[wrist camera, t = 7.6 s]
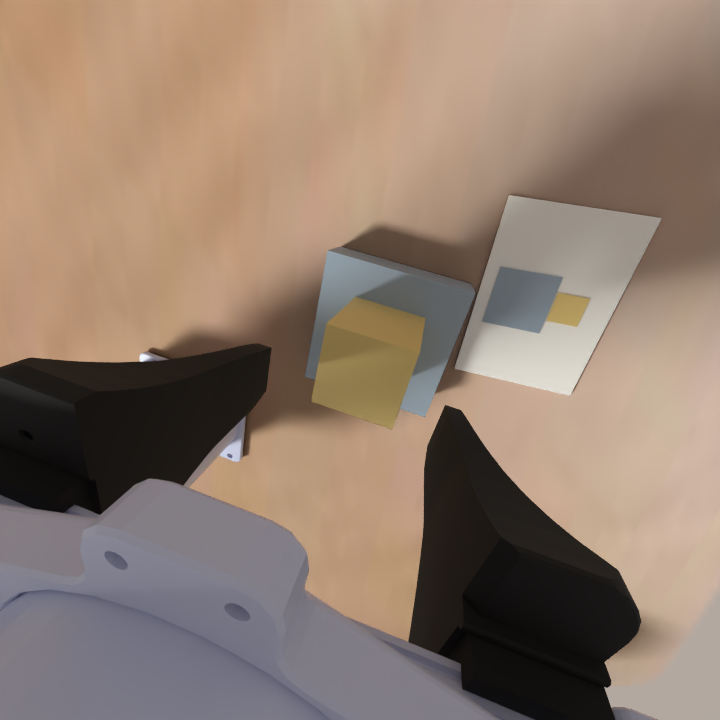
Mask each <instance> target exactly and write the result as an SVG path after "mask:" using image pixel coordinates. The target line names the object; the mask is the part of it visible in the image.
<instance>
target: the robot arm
mask: <svg viewBox="0 0 720 720" xmlns="http://www.w3.org/2000/svg"><path fill="white" fill-rule="evenodd" d="M270 355H271V348H270V347H267V346H264V345H261V344H258V343H257V344H250V345H244V346H239V347H235V348H230V349H226V350H221V351H217V352H212V353H207V354H201V355H196V356H191V357H185V358H178V359H167V358H164V357H161V356H158V355H155V354H152V353H149V352H143V353H141V354H140V362H120V363H111V362H77V361H64V360H52V359H40V358H27V359H23V360H20V361H18V362H15V363H12V364H9V365H6V366H3V367H0V720H657V719H655V718H652V717H649V716H647V715H645V714H642V713H640V712H637V711H635V710H632V709H628V708H624V707H613V708H611V706H610V703H609V700H608V697H607V694H606V692H605V689H604V687H606V688H608V687H609V686H610V685H611V679H610V676H609V673H608V671H607V668H606V665H605V663H604V662H605V661H606V660H607V659H609V658H610V657H611V656H613V655H614V654H615V653H616V652H618V651H619V650H620V649H622V648H623V647H624V646H625V645H627V644H628V643H629V642H630V641H631V640H632V639H633V638H634V636H635V635H636V634H637V633H638V630H639V627H640V623H641V619H640V614H639V610H638V608H637V606H636V604H635V602H634V600H633V598H632V596H631V594H630V592H629V590H628V588H627V586H626V585H625V583H624V581H623V579H622V577H621V575H620V573H619V571H618V570H617V569H616V568H615V567H613V566H612V565H610V564H609V563H608V562H606V561H605V560H604V559H602V558H601V557H599V556H598V555H597V554H595V553H594V552H593V551H591V550H590V549H588V548H587V547H586V546H584V545H583V544H582V543H580V542H579V541H578V540H576V539H575V538H574V537H573V536H571V535H570V534H569V533H568V532H567V531H565V530H564V529H563V528H562V527H560V526H559V525H558V524H557V523H556V522H554V521H553V520H552V519H551V518H550V517H549V516H548V515H546V514H545V513H544V512H543V511H542V510H541V509H540V508H539V507H538V506H537V505H536V504H535V503H534V502H532V501H531V500H530V499H529V498H528V497H527V496H526V495H525V494H524V493H523V492H522V491H521V490H520V489H519V488H518V486H517V485H516V484H515V483H514V482H513V481H512V480H511V479H510V478H509V477H508V475H507V474H506V473H505V472H504V471H503V470H502V468H501V467H500V466H499V465H498V463H497V462H496V461H495V459H494V458H493V457H492V456H491V454H490V453H489V451H488V450H487V449H486V447H485V446H484V444H483V443H482V441H481V440H480V439H479V437H478V435H477V434H476V432H475V431H474V429H473V428H472V426H471V425H470V423H469V421H468V420H467V418H466V417H465V415H464V414H463V412H462V411H461V410H459V409H456V408H453V407H450V406H446V405H445V407H444V409H443V411H442V414H441V416H440V418H439V421H438V423H437V425H436V428H435V430H434V432H433V434H432V437H431V439H430V441H429V444H428V447H427V453H426V460H425V467H424V528H423V540H422V548H421V557H420V565H419V573H418V581H417V588H416V595H415V602H414V609H413V616H412V623H411V629H410V635H409V641H408V642H407V641H404V640H402V639H400V638H397V637H395V636H392V635H390V634H387V633H385V632H383V631H380V630H378V629H375V628H373V627H370V626H368V625H366V624H363V623H361V622H358V621H356V620H353V619H351V618H349V617H346V616H344V615H343V614H341V613H340V612H338V611H337V610H335V609H334V608H332V607H331V606H329V605H328V604H326V603H324V602H323V601H321V600H320V599H318V598H317V597H315V596H314V595H312V594H311V593H309V592H308V591H306V590H305V583H306V579H307V576H308V572H309V565H308V557H307V552H306V550H305V548H304V547H303V546H302V545H301V543H300V542H299V541H298V540H297V538H296V537H295V536H294V535H293V533H292V532H291V531H289V530H287V529H285V528H284V527H282V526H280V525H279V524H277V523H275V522H274V521H272V520H270V519H267V518H265V517H262V516H259V515H257V514H254V513H252V512H249V511H247V510H244V509H241V508H239V507H236V506H234V505H231V504H229V503H226V502H223V501H221V500H218V499H216V498H213V497H211V496H208V495H206V494H203V493H200V492H198V491H195V490H193V489H190V488H189V487H190V486H191V485H192V484H193V483H194V482H195V481H196V480H197V478H198V477H199V476H200V475H201V474H202V473H203V472H204V471H205V470H206V469H207V468H208V467H209V466H210V465H211V463H212V462H213V461H214V460H215V459H216V458H217V457H218V456H222V457H224V458H227V459H229V460H232V461H235V462H239V461H240V460H241V459H242V455H243V444H244V433H245V422H246V415H247V414H248V413H249V412H250V411H251V410H252V409H253V407H254V406H255V405H256V404H257V402H258V401H259V400H260V398H261V397H262V395H263V394H264V392H265V391H266V388H267V380H268V372H269V363H270Z"/></svg>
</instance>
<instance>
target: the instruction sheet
mask: <svg viewBox="0 0 720 720" xmlns="http://www.w3.org/2000/svg"><path fill="white" fill-rule="evenodd" d="M661 219H662V218H658V217H651V216H645V215H638V214H631V213H625V212H618V211H611V210H605V209H598V208H592V207H585V206H578V205H572V204H565V203H558V202H552V201H545V200H538V199H532V198H525V197H519V196H512V195H509V196H508V199H507V202H506V205H505V208H504V212H503V215H502V218H501V221H500V224H499V227H498V231H497V234H496V237H495V240H494V243H493V247H492V250H491V253H490V256H489V259H488V262H487V266H486V269H485V272H484V275H483V278H482V281H481V285H480V288H479V291H478V294H477V297H476V301H475V304H474V307H473V310H472V313H471V316H470V320H469V323H468V326H467V329H466V332H465V335H464V339H463V342H462V345H461V348H460V351H459V355H458V358H457V361H456V364H455V367H454V369H457V370H462V371H466V372H470V373H475V374H479V375H483V376H487V377H492V378H496V379H500V380H505V381H509V382H513V383H517V384H522V385H526V386H530V387H535V388H539V389H543V390H547V391H552V392H556V393H560V394H565V395H569V396H570V395H571V393H572V391H573V389H574V387H575V385H576V383H577V381H578V379H579V377H580V376H581V374H582V372H583V370H584V368H585V366H586V364H587V362H588V360H589V358H590V356H591V354H592V352H593V350H594V349H595V347H596V345H597V343H598V341H599V339H600V337H601V335H602V333H603V331H604V329H605V327H606V325H607V323H608V321H609V320H610V318H611V316H612V314H613V312H614V310H615V308H616V306H617V304H618V302H619V300H620V298H621V296H622V294H623V293H624V291H625V289H626V287H627V285H628V283H629V281H630V279H631V277H632V275H633V273H634V271H635V269H636V267H637V265H638V264H639V262H640V260H641V258H642V256H643V254H644V252H645V250H646V248H647V246H648V244H649V242H650V240H651V238H652V237H653V235H654V233H655V231H656V229H657V227H658V225H659V223H660V221H661Z"/></svg>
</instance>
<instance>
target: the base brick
mask: <svg viewBox="0 0 720 720" xmlns="http://www.w3.org/2000/svg"><path fill="white" fill-rule="evenodd" d="M475 294H476V293H475V291H474V288H473V286H472V284H470V283H466V282H463V281H459V280H456V279H452V278H449V277H445V276H442V275H438V274H435V273H431V272H428V271H424V270H421V269H417V268H414V267H410V266H407V265H403V264H400V263H397V262H393V261H390V260H386V259H383V258H379V257H376V256H372V255H369V254H365V253H362V252H358V251H355V250H351V249H348V248H344V247H338V248H335V249H331V250H328V252H327V258H326V263H325V269H324V274H323V280H322V285H321V291H320V296H319V302H318V307H317V313H316V318H315V324H314V329H313V335H312V340H311V346H310V351H309V357H308V362H307V368H306V373H305V377H307V378H310V379H313V380H315V378H316V373H317V368H318V363H319V358H320V353H321V348H322V343H323V338H324V334H325V329H326V324H327V323H328V322H329V321H330V320H331V319H332V318H333V317H334V316H335V315H336V314H337V313H338V312H340V311H341V310H342V309H343V308H344V307H345V306H346V305H347V304H348V303H349V302H350V301H352V300H353V299H354V298H355V297H358V298H362V299H365V300H368V301H371V302H375V303H378V304H381V305H384V306H388V307H391V308H394V309H398V310H401V311H404V312H407V313H411V314H414V315H417V316H420V317H424V318H425V324H424V330H423V337H422V343H421V349H420V354H419V357H418V359H417V362H416V365H415V368H414V370H413V373H412V376H411V379H410V381H409V384H408V387H407V390H406V392H405V395H404V398H403V401H402V403H401V406H400V409H402V410H405V411H408V412H411V413H414V414H417V415H420V416H423V417H425V416H426V413H427V411H428V408H429V406H430V403H431V401H432V399H433V396H434V394H435V391H436V389H437V386H438V384H439V382H440V379H441V377H442V374H443V372H444V369H445V367H446V364H447V362H448V360H449V357H450V355H451V352H452V350H453V347H454V345H455V342H456V340H457V338H458V335H459V333H460V330H461V328H462V325H463V323H464V321H465V318H466V316H467V313H468V311H469V308H470V306H471V303H472V301H473V299H474V296H475Z"/></svg>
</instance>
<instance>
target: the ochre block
mask: <svg viewBox="0 0 720 720" xmlns="http://www.w3.org/2000/svg"><path fill="white" fill-rule="evenodd" d="M424 324H425V318H424V317H420V316H417V315H414V314H411V313H407V312H404V311H401V310H398V309H394V308H391V307H388V306H384V305H381V304H378V303H375V302H371V301H368V300H365V299H362V298H358V297H355V298H354V299H353V300H352V301H350V302H349V303H348V304H347V305H346V306H345V307H344V308H343V309H342V310H341V311H340V312H338V313H337V314H336V315H335V316H334V317H333V318H332V319H331V320H330V321H329V322H328V323H327V324H326V329H325V334H324V338H323V343H322V348H321V353H320V358H319V363H318V368H317V373H316V378H315V383H314V388H313V393H312V397H311V402H314V403H317V404H320V405H323V406H326V407H328V408H331V409H334V410H337V411H340V412H343V413H346V414H349V415H351V416H354V417H357V418H360V419H363V420H366V421H369V422H372V423H374V424H377V425H380V426H383V427H386V428H389V429H392V428H393V426H394V423H395V420H396V417H397V415H398V412H399V409H400V406H401V403H402V401H403V398H404V395H405V392H406V390H407V387H408V384H409V381H410V379H411V376H412V373H413V370H414V368H415V365H416V362H417V359H418V357H419V354H420V349H421V343H422V337H423V330H424Z"/></svg>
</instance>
